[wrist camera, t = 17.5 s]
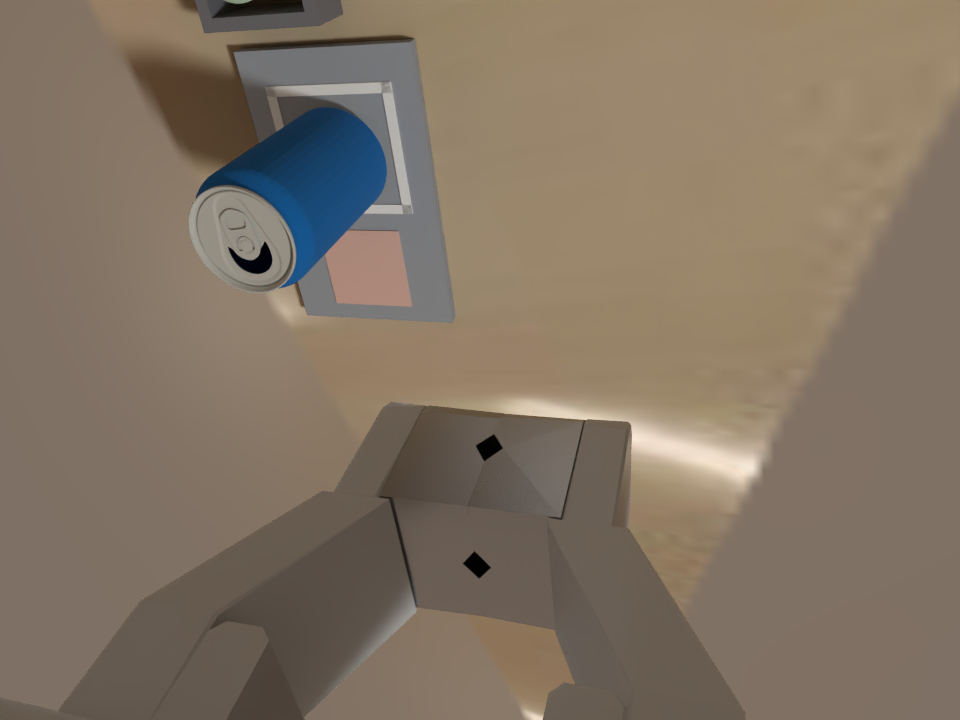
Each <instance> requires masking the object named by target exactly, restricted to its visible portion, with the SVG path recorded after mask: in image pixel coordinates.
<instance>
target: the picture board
mask: <svg viewBox="0 0 960 720" xmlns="http://www.w3.org/2000/svg"><path fill="white" fill-rule="evenodd" d="M234 56H235V60H236V63H237V67H238V70H239V74H240V77H241V81H242V85H243V88H244V92H245V95H246V99H247V102H248V106H249V110H250V113H251V117H252V120H253V124H254V127H255V131H256V135H257V138H258V142H259V143H260V142H262V141H263V140H265V139H266V138H268V137H269V136H271V135H272V134H274V133H275V132H277V131H278V130H280V129H281V128H283V127H284V126H286V125H287V124H289V123H290V122H292V121H293V120H295V119H296V118H298V117H299V116H301V115H302V114H304V113H305V112H307V111H309V110H312V109H315V108H320V107H333V108H338V109H342V110H345V111H347V112H349V113H351V114H353V115H355V116H356V117H358V118H359V119H361V120H362V121H363V122H364V123H365V124H366V125H367V126H368V127H369V128H370V129H371V130H372V131H373V132H374V134H375V135H376V137H377V138H378V140H379V142H380V144H381V146H382V148H383V151H384V154H385V158H386V163H387V178H386V183H385V186H384V189H383V191H382V193H381V194H380V196H379V197H378V199H377V200H376V201H375V202H374V203H373V204H372V205H371V206H370V207H369V208H368V209H367V210H366V211H365V213H364V214H363V215H362V216H361V217H360V218H359V219H358V220H357V221H356V222H355V223H354V224H353V225H352V226H351V227H350V228H349V229H348V230H347V231H346V233H345V234H344V235H343V236H342V237H341V238H340V239H339V240H338V241H337V242H336V243H335V244H334V245H333V246H332V247H331V248H330V249H329V250H328V252H327V253H326V254H325V255H324V256H323V257H322V258H321V259H320V260H319V261H318V262H317V263H316V264H315V265H314V266H313V267H312V268H311V269H310V271H309V272H308V273H307V274H306V275H305V276H304V277H303V278H302V279H300V280H299V281H298V285H299V288H300V292H301V295H302V299H303V302H304V306H305V310H306V313H307V315H314V316H333V317H352V318H371V319H389V320H408V321H427V322H446V323H452V322H453V320H454V318H455V312H454V305H453V298H452V291H451V284H450V277H449V270H448V263H447V257H446V250H445V243H444V236H443V229H442V222H441V215H440V208H439V201H438V195H437V188H436V181H435V174H434V167H433V160H432V153H431V146H430V140H429V133H428V126H427V119H426V112H425V105H424V98H423V91H422V85H421V78H420V71H419V64H418V57H417V50H416V43H415V39H402V40H385V41H367V42H350V43H332V44H315V45H297V46H280V47H262V48H245V49H239V50H237V51H235V52H234Z"/></svg>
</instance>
